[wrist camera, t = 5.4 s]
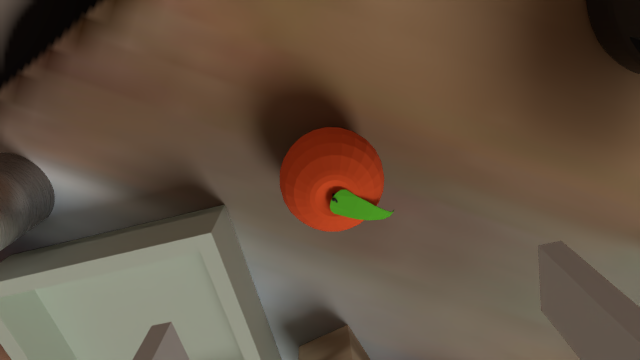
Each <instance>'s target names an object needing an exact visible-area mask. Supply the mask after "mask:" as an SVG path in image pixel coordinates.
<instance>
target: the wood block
mask: <svg viewBox="0 0 640 360" xmlns="http://www.w3.org/2000/svg"><path fill="white" fill-rule="evenodd" d="M299 360H370V358H369V357H368V355H367V353H366V352H365V350H364V349H363V347H362V346H361V344H360V343H359V341H358V340H357V338H356V337H355V335H354V334H353V332H352V330H351V329H350V327H349V326H348V325H346V326H344V327H341V328H339V329H337V330H335V331H333V332H330V333H328V334H326V335H324V336H321V337H319V338H317V339H315V340H312V341H310V342H308V343H306V344H304V345H301V346H299Z"/></svg>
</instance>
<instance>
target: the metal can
mask: <svg viewBox="0 0 640 360" xmlns="http://www.w3.org/2000/svg"><path fill="white" fill-rule="evenodd" d="M54 201H55V196H54V190H53V187H52V185H51V183H50V181H49V179H48V177H47V176H46V175H45V173H44V172H43V171H42V170H41V169H40V168H39V167H38V166H36V165H35V164H34V163H32V162H31V161H29V160H27V159H26V158H23V157H21V156H18V155H15V154H11V153H3V152H1V153H0V251H1V250H2V249H4V248H5V247H7V246H8V245H9V244H11V243H12V242H14V241H15V240H16V239H18V238H19V237H21V236H22V235H24V234H25V233H26V232H28V231H29V230H31V229H32V228H33V227H35V226H36V225H38V224H39V223H40V222H42V221H43V220H45V219H46V218H47V217H48V216H49V215H50V213H51V211H52V209H53V207H54Z"/></svg>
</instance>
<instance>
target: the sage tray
mask: <svg viewBox="0 0 640 360" xmlns="http://www.w3.org/2000/svg"><path fill="white" fill-rule="evenodd" d="M167 322H172V324H173V326H174V328H175V330H176V332H177V334H178V336H179V338H180V341H181V343H182V345H183V347H184V349H185V351H186V353H187V355H188V357H189V359H190V360H282V359H281V357H280V354H279V351H278V349H277V346H276V343H275V340H274V338H273V335H272V332H271V329H270V327H269V324H268V321H267V318H266V316H265V313H264V310H263V308H262V305H261V302H260V299H259V297H258V294H257V291H256V288H255V286H254V283H253V280H252V277H251V275H250V272H249V269H248V266H247V264H246V261H245V258H244V256H243V253H242V250H241V247H240V245H239V242H238V239H237V236H236V234H235V231H234V228H233V225H232V223H231V220H230V217H229V215H228V212H227V209H226V206H225V205H221V206H216V207H212V208H208V209H204V210H200V211H195V212H191V213H187V214H183V215H178V216H174V217H170V218H166V219H161V220H157V221H153V222H149V223H144V224H140V225H136V226H132V227H128V228H123V229H119V230H115V231H111V232H106V233H102V234H98V235H94V236H89V237H85V238H81V239H77V240H72V241H68V242H64V243H60V244H56V245H51V246H47V247H43V248H39V249H34V250H30V251H26V252H22V253H17V254H13V255H10V256H8V257H7V258H6V259H4V260H3V261H2V262H0V344H1V345H2V346H3V348H4V349H5V351H6V352H7V354H8V355H9V356H10V358H11V359H12V360H133V358H134V356H135V354H136V353H137V351H138V349H139V347H140V345H141V344H142V342H143V340H144V338H145V337H146V335H147V333H148V331H149V330H150V328H151V326H153V325H157V324H162V323H167Z"/></svg>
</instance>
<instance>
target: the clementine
mask: <svg viewBox="0 0 640 360" xmlns="http://www.w3.org/2000/svg"><path fill="white" fill-rule="evenodd" d="M383 186H384V175H383V169H382V164H381V160H380V158H379V156H378V154H377V152H376V150H375V149H374V148H373V147H372V146H371V145H370V143H369V142H368V141H367V140H366V139H364V138H363V137H361V136H359V135H358V134H356V133H354V132H353V131H350V130H347V129H343V128H340V127H324V128H320V129H316V130H313V131H311V132H309V133H307V134H305V135H303V136H302V137H301V138H299V139H298V140H297V141H296V142H295V143H294V144H293V145H292V146H291V148H290V149H289V151H288V153H287V154H286V156H285V157H284V159H283V162H282V166H281V170H280V188H281V192H282V195H283V199H284V202H285V203H286V205H287V207H288V208H289V210H290V211H291V213H292V214H294V215H295V216H296V217H297V218H298V219H299V220H300V221H301V222H303V223H305V224H307V225H308V226H310V227H312V228H314V229H318V230H322V231H342V230H346V229H350V228H352V227H354V226H356V225H358V224H360V223H361V222H362V221H364V220H380V219H385V218H387V217H389V216H391V214H392V213H393V211H394V210H393V211H392V212H389V211H386V210H383V209H381V208H379V207H376V206H377V204H378V203H379V200H380V198H381V195H382V192H383Z"/></svg>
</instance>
